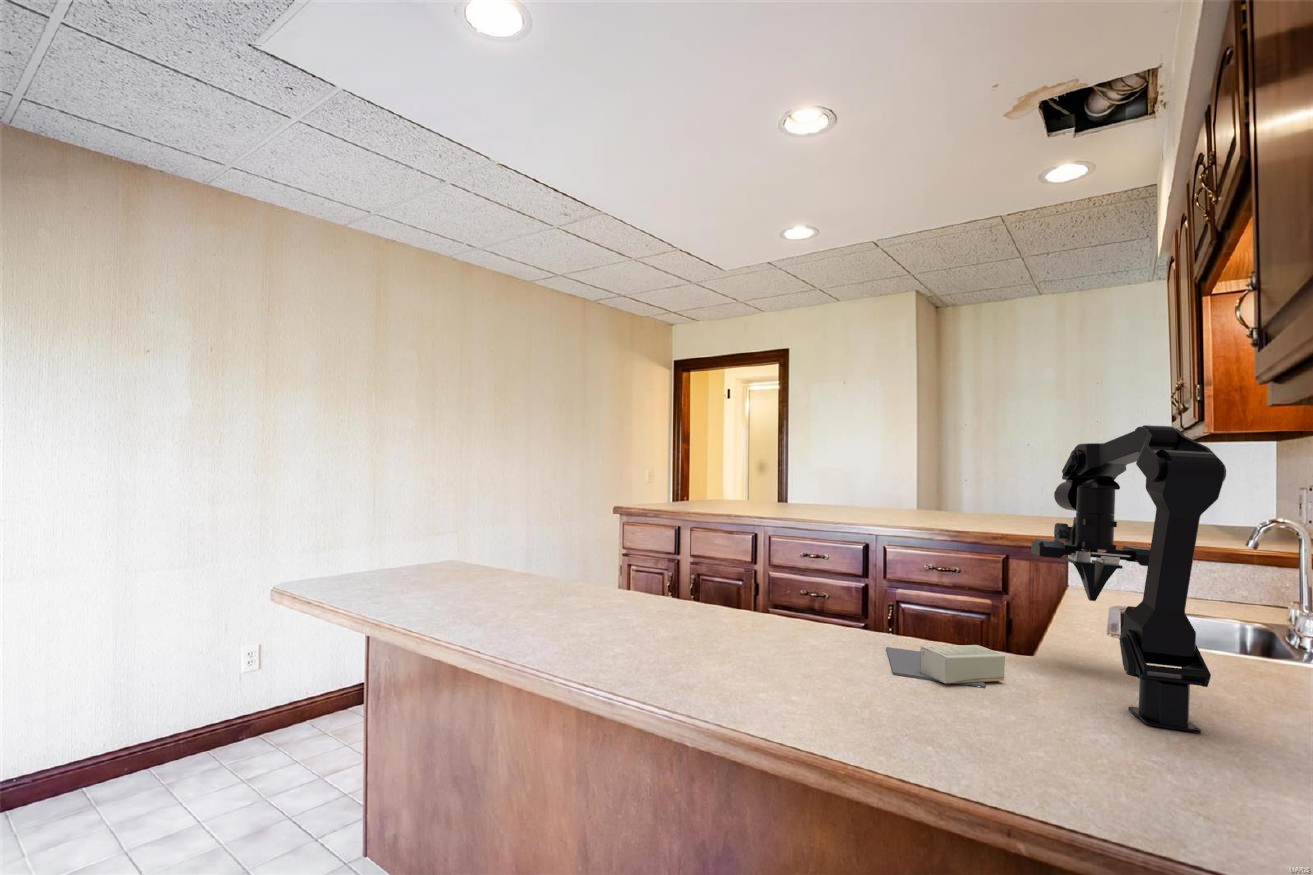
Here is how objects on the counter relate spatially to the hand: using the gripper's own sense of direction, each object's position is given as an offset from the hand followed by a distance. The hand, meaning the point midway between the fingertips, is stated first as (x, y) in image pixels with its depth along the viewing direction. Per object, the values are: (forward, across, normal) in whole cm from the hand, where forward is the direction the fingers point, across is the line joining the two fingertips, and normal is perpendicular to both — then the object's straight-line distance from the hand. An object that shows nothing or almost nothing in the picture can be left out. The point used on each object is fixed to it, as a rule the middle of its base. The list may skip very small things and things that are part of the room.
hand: (1091, 600), depth 114 cm
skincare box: (+10, +18, +11) cm, 24 cm away
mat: (+13, +28, +10) cm, 32 cm away
